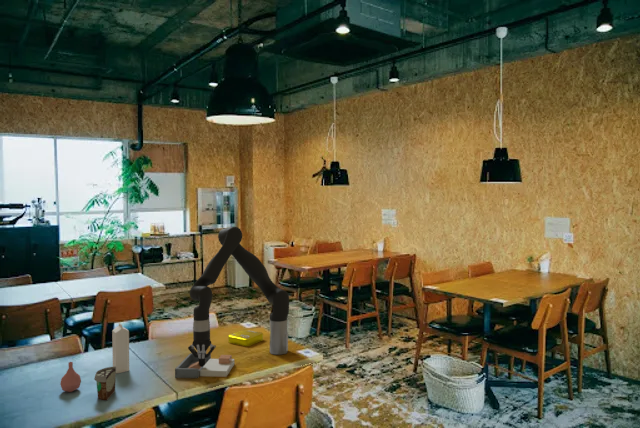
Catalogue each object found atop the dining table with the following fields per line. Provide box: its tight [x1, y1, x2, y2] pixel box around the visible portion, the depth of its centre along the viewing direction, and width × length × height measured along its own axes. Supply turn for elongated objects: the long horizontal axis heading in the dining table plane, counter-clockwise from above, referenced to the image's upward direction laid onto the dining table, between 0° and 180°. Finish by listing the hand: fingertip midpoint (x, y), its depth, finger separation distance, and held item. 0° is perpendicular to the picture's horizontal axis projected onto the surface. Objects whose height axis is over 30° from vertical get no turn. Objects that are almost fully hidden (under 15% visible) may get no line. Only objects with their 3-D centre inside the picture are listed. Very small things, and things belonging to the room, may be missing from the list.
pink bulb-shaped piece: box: [59, 361, 82, 393], centre depth 197 cm, size 8×8×12 cm
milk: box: [111, 322, 130, 374], centre depth 220 cm, size 6×6×22 cm
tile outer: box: [189, 361, 201, 369], centre depth 218 cm, size 5×5×2 cm
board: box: [199, 358, 235, 378], centre depth 222 cm, size 12×16×2 cm
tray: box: [174, 352, 212, 379], centre depth 222 cm, size 10×21×4 cm, turn 177°
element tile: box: [227, 329, 264, 347], centre depth 267 cm, size 15×15×5 cm
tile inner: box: [218, 354, 233, 364], centre depth 226 cm, size 5×5×2 cm
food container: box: [93, 366, 117, 401], centre depth 192 cm, size 12×6×10 cm, turn 5°
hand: (202, 366), depth 218 cm, fingers closed
